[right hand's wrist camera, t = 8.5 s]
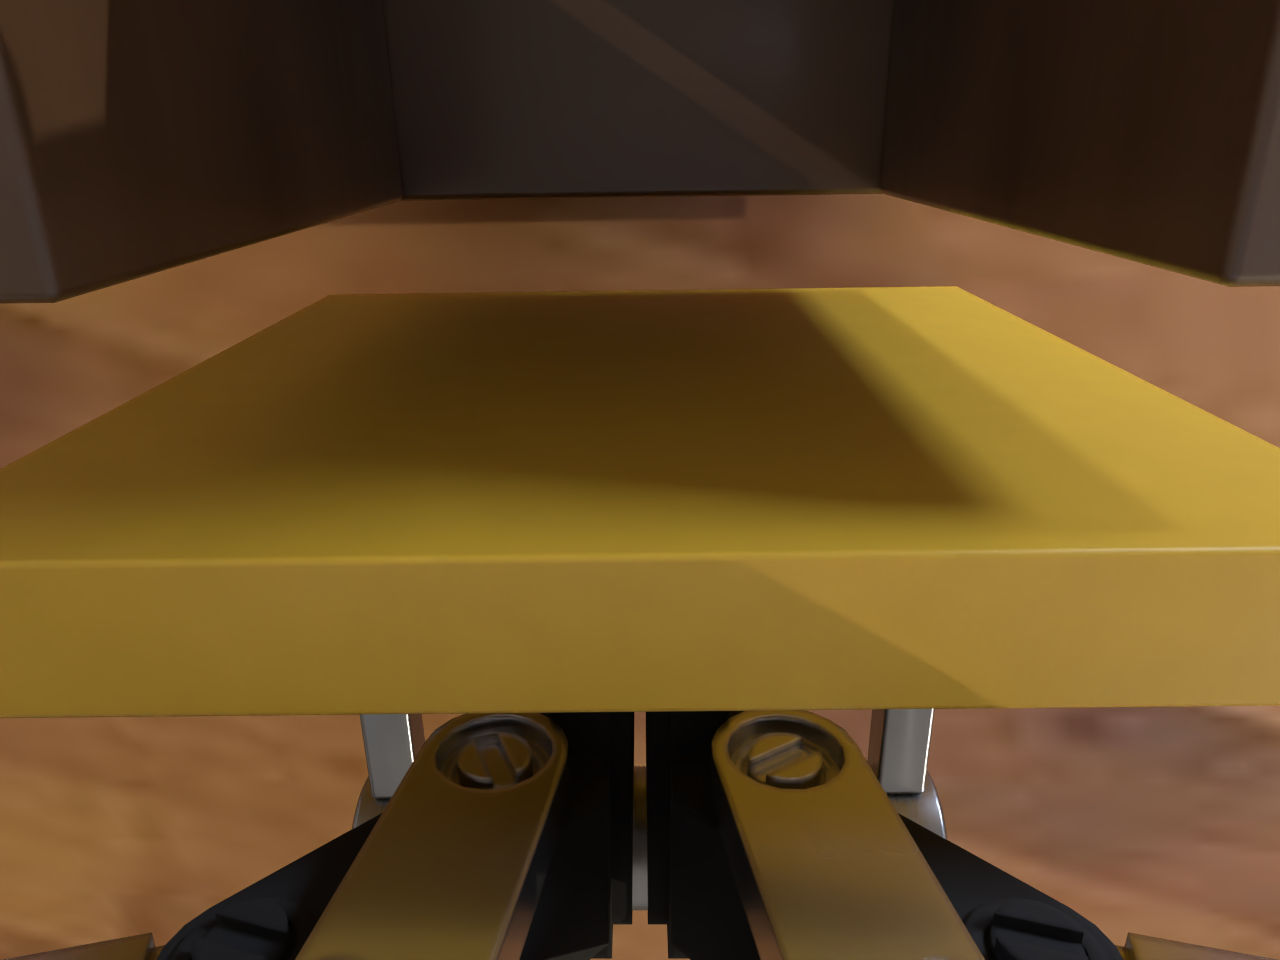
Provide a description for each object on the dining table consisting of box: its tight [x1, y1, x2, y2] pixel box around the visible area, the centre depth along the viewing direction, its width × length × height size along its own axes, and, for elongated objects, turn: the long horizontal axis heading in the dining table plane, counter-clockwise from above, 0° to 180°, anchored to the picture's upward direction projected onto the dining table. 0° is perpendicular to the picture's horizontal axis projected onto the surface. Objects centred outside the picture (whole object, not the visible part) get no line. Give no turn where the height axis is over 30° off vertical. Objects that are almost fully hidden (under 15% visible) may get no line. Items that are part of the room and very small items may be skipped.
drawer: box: [0, 0, 1280, 910], centre depth 9 cm, size 21×10×10 cm, turn 1°
